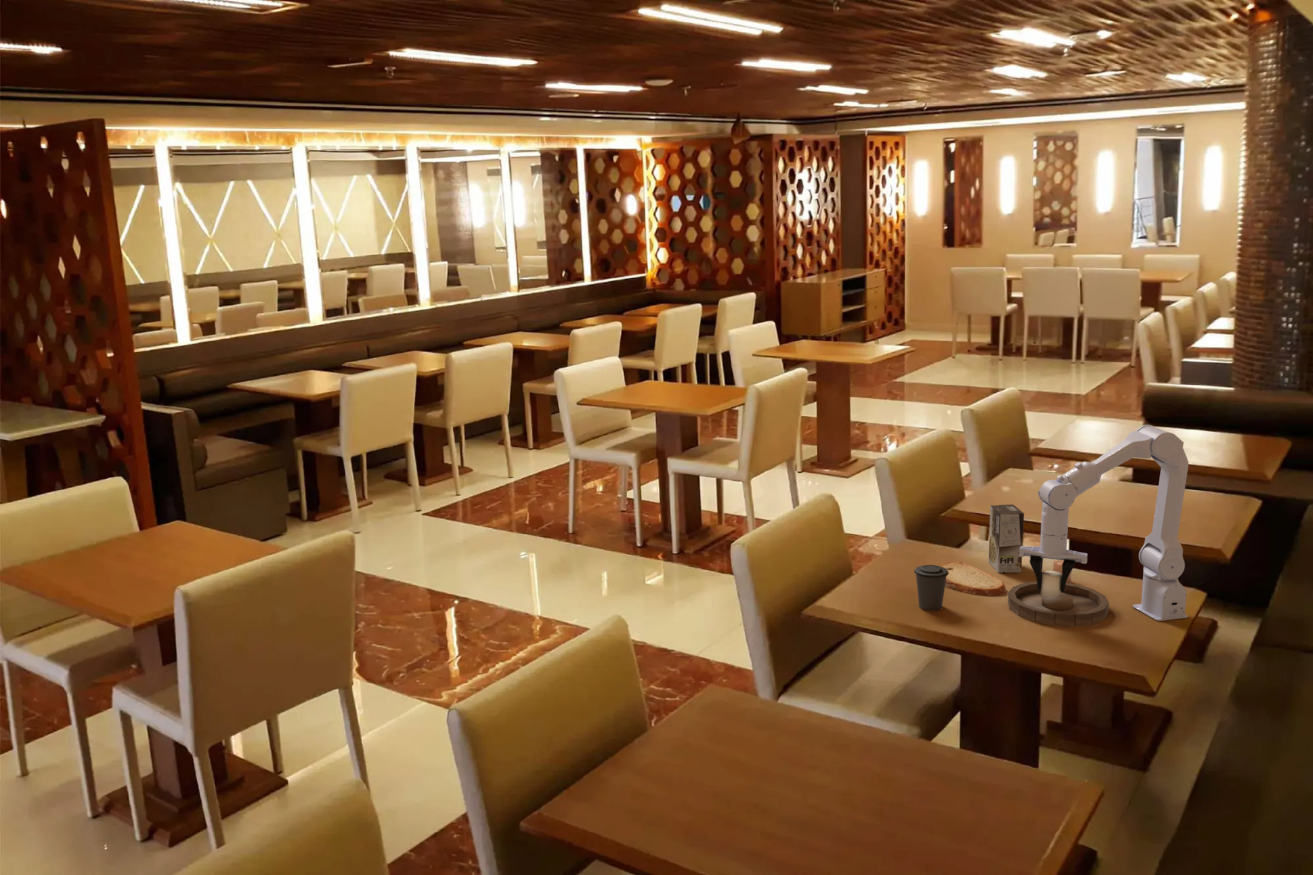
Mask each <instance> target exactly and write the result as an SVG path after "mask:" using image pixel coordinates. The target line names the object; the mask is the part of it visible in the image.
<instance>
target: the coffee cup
mask: <svg viewBox="0 0 1313 875" xmlns="http://www.w3.org/2000/svg"><path fill="white" fill-rule="evenodd" d="M941 566H942V565H941ZM941 566H939V565H935V564H924V565H919V566H917V567H916V568H915V569H914V570H913V573H914V574H915V576H916V578H915V579H916V588H917V597H918V607H919V608H920V609H922V610H924V611H929V612H937V611H940V610H942V608H943V602H944V596H945V590H946V587H945V583H946V576H947V575H948V574H949V572H948V571H947V569H946V568H944V567H941Z"/></svg>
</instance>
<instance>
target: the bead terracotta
mask: <svg viewBox="0 0 1313 875" xmlns="http://www.w3.org/2000/svg"><path fill="white" fill-rule="evenodd" d="M1063 562H1064V560H1054V561H1053V564H1052V571H1056V572H1059V573H1061V574H1062V564H1063ZM1072 571H1073V570H1072ZM1072 571H1071V573H1070V574H1069V576H1068V579H1067V581H1066V583H1071V584H1072Z"/></svg>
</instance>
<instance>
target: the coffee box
mask: <svg viewBox="0 0 1313 875" xmlns="http://www.w3.org/2000/svg"><path fill="white" fill-rule="evenodd" d="M989 507H990V508H989V509H990V510H989V511H990V512H989V535H988V536H989V540H988V543H989V546H988V564H990V565H991V566H992V567H993V569H994V570H995V571H996V572H997V573H1000V574H1001V573H1003V572H1005V573H1022V564H1023V562H1022V560H1023V557H1021V556H1019V551H1020V547H1021V546H1023V543H1024V542H1023V541H1024V524H1025V523H1024V521H1025V520H1024V519H1025V513H1024V512H1023V511H1022V510H1021V509H1019V508H1018V507H1017V506H1016V505H1015V504H1011V503H1010V504H998V505H997V504H995V505H990V506H989Z"/></svg>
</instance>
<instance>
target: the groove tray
mask: <svg viewBox="0 0 1313 875" xmlns="http://www.w3.org/2000/svg"><path fill="white" fill-rule="evenodd" d="M1007 605H1008V609H1009V611H1011V612H1012V613H1014V614H1015V615H1017V616H1018V617H1020V618H1022V619H1025V620H1029V621H1031V622H1034V623H1038V624H1044V625H1049V626H1056V627H1081V626H1090V625H1091V626H1092V625H1095V624H1097V623H1100V622H1103V621H1105V620H1106V618H1107V616H1108V615H1109V605H1110V602H1109V600H1108V598H1107V597H1106V595H1104V594H1102V593H1101V592H1099V591H1097V590H1096V589H1094V588H1090V587H1087V586H1083V585H1081V584H1075V583H1072V582H1071V583H1066V585H1065V590H1064V592H1062V591H1061V596H1060V597H1058V598H1049V597H1045V596H1043V595H1041V589H1038V585H1037V581H1029V582H1023V583H1021V584H1018V585H1017V584H1016V585H1014V586H1012V588H1010V590H1008V591H1007Z"/></svg>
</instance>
